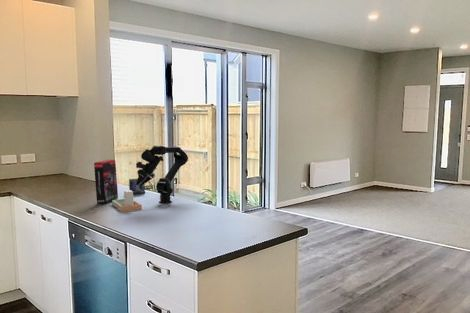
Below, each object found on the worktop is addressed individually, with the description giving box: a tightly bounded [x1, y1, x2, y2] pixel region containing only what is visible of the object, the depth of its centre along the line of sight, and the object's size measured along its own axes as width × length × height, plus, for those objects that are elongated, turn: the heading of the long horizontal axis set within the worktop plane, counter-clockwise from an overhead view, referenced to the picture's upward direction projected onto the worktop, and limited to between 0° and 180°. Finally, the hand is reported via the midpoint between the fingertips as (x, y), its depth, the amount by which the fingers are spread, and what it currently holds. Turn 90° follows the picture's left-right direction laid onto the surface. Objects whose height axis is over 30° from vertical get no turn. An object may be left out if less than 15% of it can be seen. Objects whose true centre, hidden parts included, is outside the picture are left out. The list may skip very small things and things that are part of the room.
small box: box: [128, 178, 146, 195], centre depth 290 cm, size 11×6×10 cm, turn 112°
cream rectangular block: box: [123, 189, 134, 206], centre depth 243 cm, size 4×6×11 cm
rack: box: [111, 198, 143, 213], centre depth 248 cm, size 23×12×3 cm, turn 31°
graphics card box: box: [93, 159, 119, 205], centre depth 263 cm, size 17×7×27 cm, turn 168°
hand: (139, 185), depth 249 cm, fingers open, 9 cm apart
